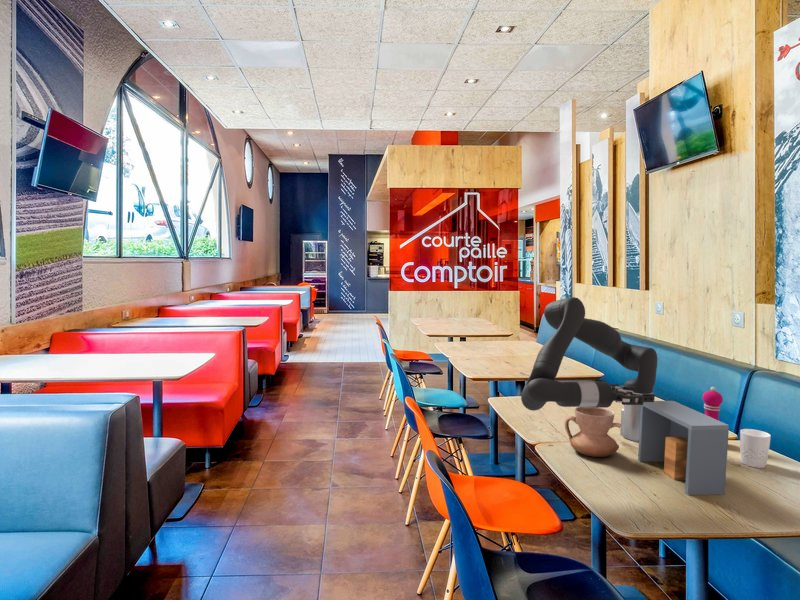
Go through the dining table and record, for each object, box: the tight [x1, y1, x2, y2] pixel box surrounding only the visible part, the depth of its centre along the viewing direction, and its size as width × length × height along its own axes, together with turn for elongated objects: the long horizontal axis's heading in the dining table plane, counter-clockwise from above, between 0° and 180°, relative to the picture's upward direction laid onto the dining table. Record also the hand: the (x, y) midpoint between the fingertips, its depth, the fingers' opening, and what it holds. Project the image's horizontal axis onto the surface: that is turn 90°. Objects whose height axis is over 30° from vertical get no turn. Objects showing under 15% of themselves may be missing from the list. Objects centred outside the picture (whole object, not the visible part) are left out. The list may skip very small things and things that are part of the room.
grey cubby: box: [637, 400, 730, 496], centre depth 151 cm, size 11×24×19 cm, turn 5°
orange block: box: [663, 437, 688, 481], centre depth 151 cm, size 5×5×11 cm
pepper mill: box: [702, 386, 724, 421], centre depth 179 cm, size 7×7×20 cm
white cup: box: [739, 428, 772, 469], centre depth 161 cm, size 8×8×10 cm
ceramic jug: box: [563, 407, 622, 458], centre depth 169 cm, size 18×14×14 cm
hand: (645, 394), depth 148 cm, fingers open, 8 cm apart
